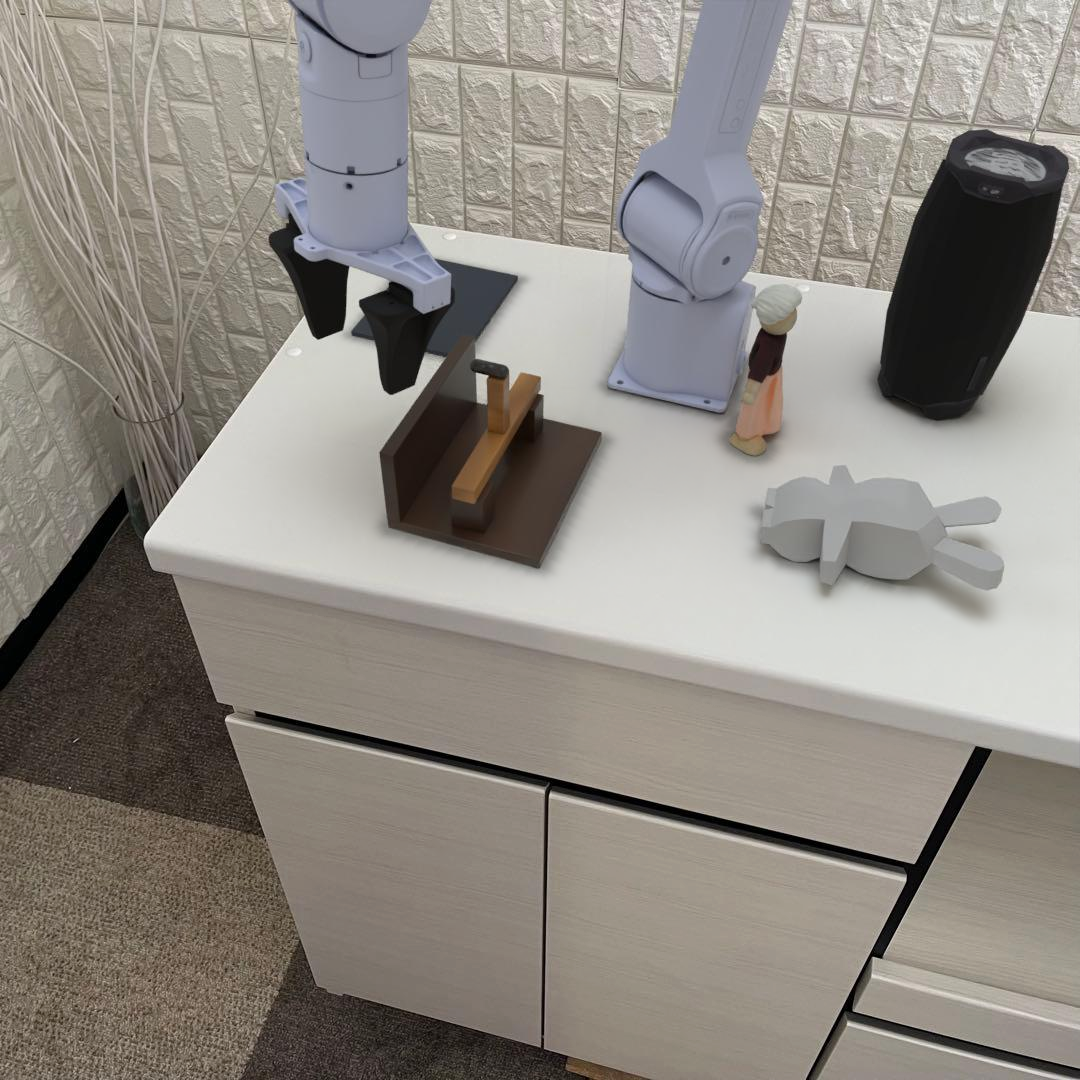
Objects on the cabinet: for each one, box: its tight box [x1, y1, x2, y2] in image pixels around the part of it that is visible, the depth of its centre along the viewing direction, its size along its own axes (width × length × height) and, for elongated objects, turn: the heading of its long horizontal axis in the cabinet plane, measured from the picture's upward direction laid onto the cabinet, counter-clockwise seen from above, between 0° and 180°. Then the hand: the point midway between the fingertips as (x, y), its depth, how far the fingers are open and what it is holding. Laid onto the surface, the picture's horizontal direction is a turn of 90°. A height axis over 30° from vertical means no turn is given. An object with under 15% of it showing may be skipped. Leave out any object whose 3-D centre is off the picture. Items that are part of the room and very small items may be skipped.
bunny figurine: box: [759, 464, 1005, 591], centre depth 70 cm, size 10×5×15 cm
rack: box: [378, 334, 603, 569], centre depth 73 cm, size 11×14×7 cm
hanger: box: [452, 358, 542, 504], centre depth 71 cm, size 3×13×6 cm, turn 160°
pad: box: [350, 258, 519, 358], centre depth 91 cm, size 10×13×1 cm
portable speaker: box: [876, 128, 1070, 421], centre depth 77 cm, size 9×9×20 cm
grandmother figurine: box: [729, 283, 803, 456], centre depth 76 cm, size 8×4×13 cm, turn 168°
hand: (362, 359), depth 68 cm, fingers open, 7 cm apart
